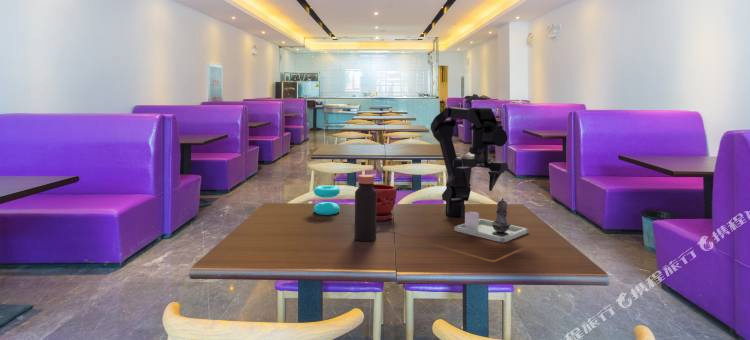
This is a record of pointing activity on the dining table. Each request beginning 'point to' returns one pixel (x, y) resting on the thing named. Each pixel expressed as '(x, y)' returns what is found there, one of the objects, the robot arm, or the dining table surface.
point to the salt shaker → (501, 220)
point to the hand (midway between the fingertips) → (478, 189)
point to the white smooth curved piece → (471, 220)
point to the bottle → (365, 209)
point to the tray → (491, 231)
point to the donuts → (326, 207)
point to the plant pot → (385, 201)
